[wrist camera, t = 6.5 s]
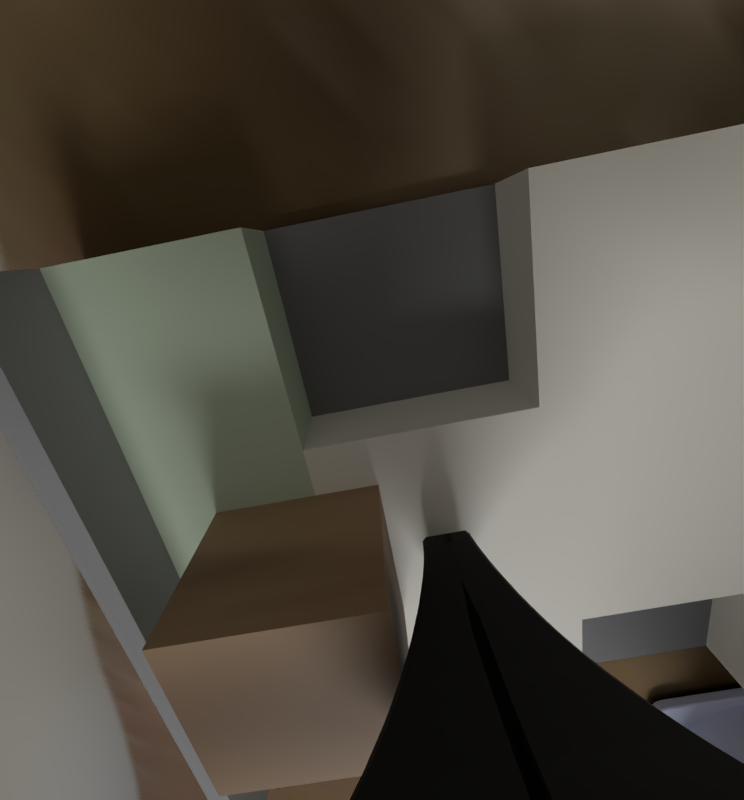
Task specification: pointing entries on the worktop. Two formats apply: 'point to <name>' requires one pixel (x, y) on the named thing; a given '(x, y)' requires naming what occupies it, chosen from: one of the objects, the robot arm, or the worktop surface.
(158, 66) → the worktop surface
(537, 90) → the worktop surface
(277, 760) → the walnut block
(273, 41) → the worktop surface
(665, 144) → the trap deck
